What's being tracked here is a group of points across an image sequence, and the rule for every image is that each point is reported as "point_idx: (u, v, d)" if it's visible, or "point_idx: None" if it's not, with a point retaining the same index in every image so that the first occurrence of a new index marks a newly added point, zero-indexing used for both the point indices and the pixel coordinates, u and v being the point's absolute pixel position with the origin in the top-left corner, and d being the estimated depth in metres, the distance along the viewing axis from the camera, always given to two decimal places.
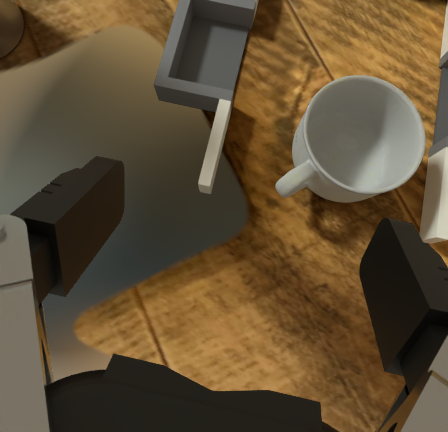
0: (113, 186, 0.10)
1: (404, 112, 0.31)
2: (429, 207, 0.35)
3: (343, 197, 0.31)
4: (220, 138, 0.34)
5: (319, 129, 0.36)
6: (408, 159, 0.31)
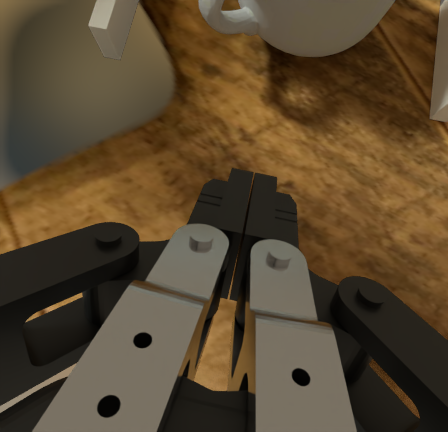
0: None
1: None
2: (444, 64, 0.23)
3: (309, 26, 0.20)
4: None
5: None
6: None
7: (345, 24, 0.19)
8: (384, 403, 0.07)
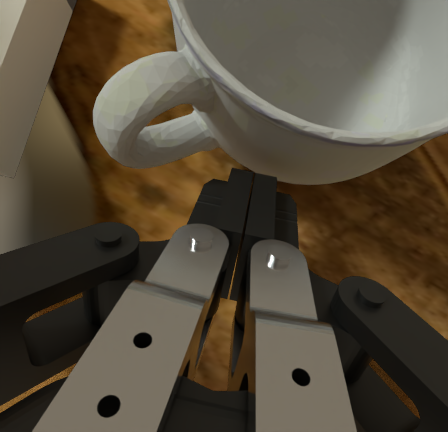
0: None
1: None
2: None
3: (299, 166, 0.11)
4: (8, 39, 0.14)
5: (257, 22, 0.16)
6: None
7: (363, 166, 0.11)
8: (384, 403, 0.07)
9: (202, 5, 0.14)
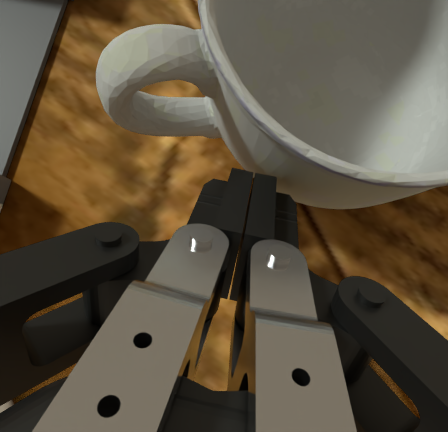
0: None
1: None
2: None
3: (282, 177, 0.11)
4: None
5: (304, 31, 0.16)
6: None
7: (343, 197, 0.11)
8: (384, 403, 0.07)
9: None
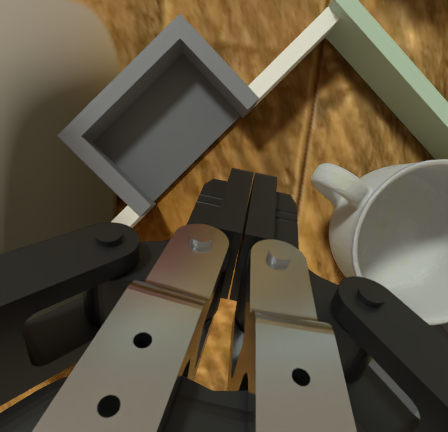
0: None
1: None
2: None
3: (339, 251, 0.25)
4: None
5: (412, 195, 0.28)
6: (418, 309, 0.24)
7: None
8: (384, 403, 0.07)
9: None
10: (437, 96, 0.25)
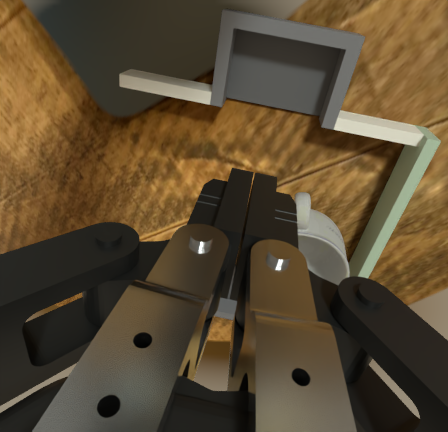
0: None
1: None
2: None
3: None
4: (168, 95, 0.34)
5: None
6: None
7: None
8: (384, 403, 0.07)
9: None
10: (391, 229, 0.37)
